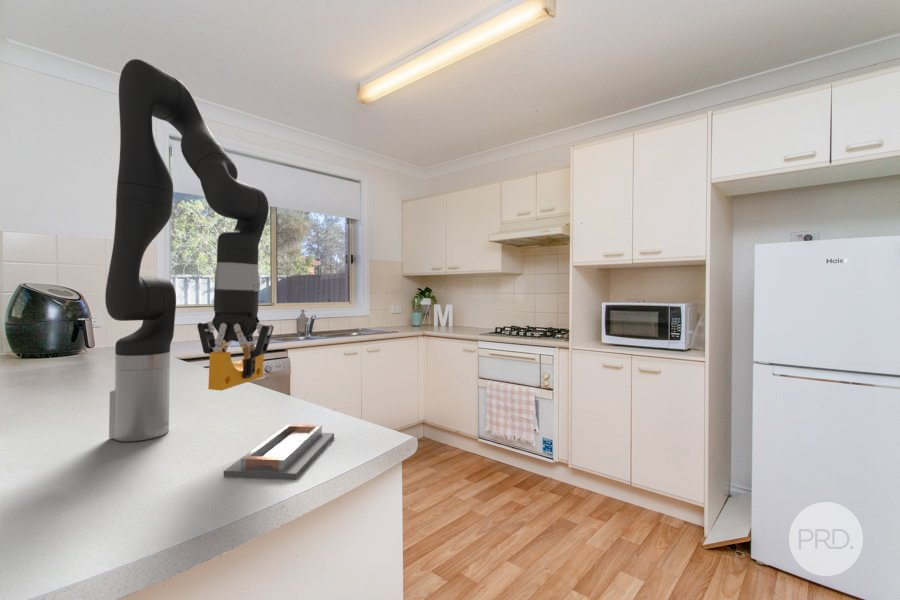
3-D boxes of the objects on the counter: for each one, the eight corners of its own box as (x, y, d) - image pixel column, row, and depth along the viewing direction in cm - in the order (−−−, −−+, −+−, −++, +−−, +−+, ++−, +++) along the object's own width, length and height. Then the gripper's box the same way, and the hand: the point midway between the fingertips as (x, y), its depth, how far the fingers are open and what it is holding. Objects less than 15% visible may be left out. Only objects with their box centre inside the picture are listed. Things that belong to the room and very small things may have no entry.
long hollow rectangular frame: (240, 469, 68) (240, 458, 68) (287, 432, 87) (287, 424, 87) (283, 470, 68) (283, 460, 68) (321, 433, 86) (321, 425, 86)
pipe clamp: (243, 375, 85) (244, 344, 85) (262, 377, 84) (264, 345, 84) (199, 388, 73) (200, 352, 73) (221, 390, 72) (223, 353, 72)
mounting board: (223, 477, 68) (223, 470, 68) (278, 435, 88) (278, 431, 88) (295, 479, 67) (295, 473, 67) (334, 437, 87) (334, 433, 87)
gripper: (187, 286, 75) (184, 379, 75) (264, 288, 74) (261, 383, 75) (212, 286, 82) (209, 372, 83) (282, 289, 82) (280, 375, 82)
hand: (234, 376), depth 79 cm, fingers closed on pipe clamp, 4 cm apart
